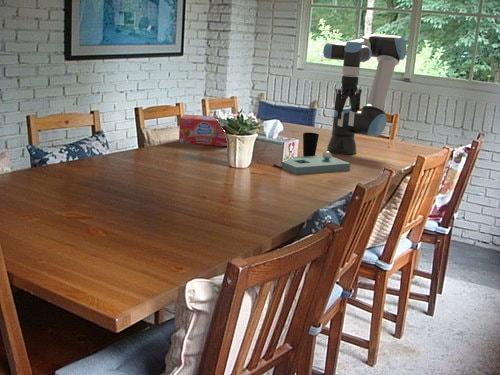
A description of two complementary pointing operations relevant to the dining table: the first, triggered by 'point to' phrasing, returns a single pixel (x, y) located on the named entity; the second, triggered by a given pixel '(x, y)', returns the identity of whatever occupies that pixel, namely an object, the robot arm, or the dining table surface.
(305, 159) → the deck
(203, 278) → the dining table surface
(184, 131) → the box
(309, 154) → the cup
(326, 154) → the ball
